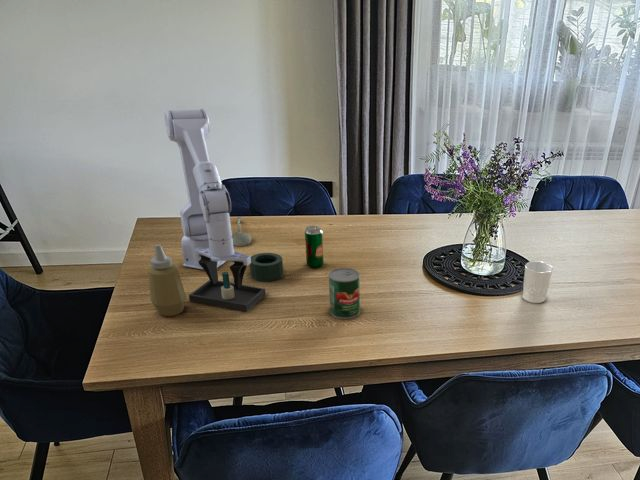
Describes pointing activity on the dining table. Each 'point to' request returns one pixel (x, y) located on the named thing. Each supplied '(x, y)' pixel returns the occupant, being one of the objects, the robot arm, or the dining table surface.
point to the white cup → (536, 281)
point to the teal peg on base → (227, 287)
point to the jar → (266, 267)
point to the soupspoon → (240, 236)
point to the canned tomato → (344, 293)
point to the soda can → (314, 247)
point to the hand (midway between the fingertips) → (226, 285)
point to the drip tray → (241, 301)
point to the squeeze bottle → (165, 284)
